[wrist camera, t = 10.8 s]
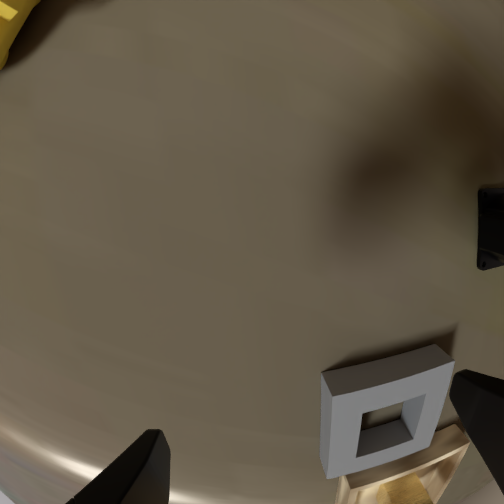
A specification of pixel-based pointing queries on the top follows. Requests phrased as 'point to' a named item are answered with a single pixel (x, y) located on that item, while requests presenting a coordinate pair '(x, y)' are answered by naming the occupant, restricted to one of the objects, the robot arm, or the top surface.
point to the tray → (409, 469)
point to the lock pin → (403, 491)
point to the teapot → (12, 23)
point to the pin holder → (378, 396)
